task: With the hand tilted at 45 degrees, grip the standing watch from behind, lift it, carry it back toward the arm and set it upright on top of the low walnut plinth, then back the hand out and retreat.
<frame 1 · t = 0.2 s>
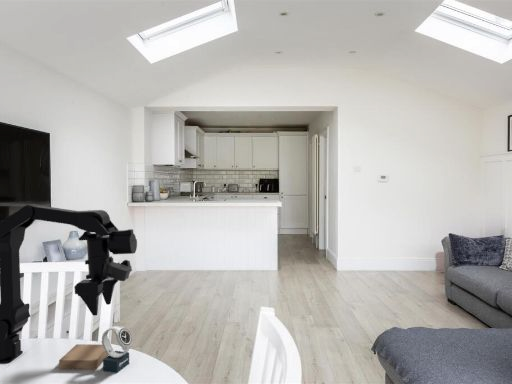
hand: (102, 309, 111), 14 cm above the table, tool pointing down, fingers open, 9 cm apart
watch: (116, 367, 107), on the table
plinth: (86, 360, 111), on the table
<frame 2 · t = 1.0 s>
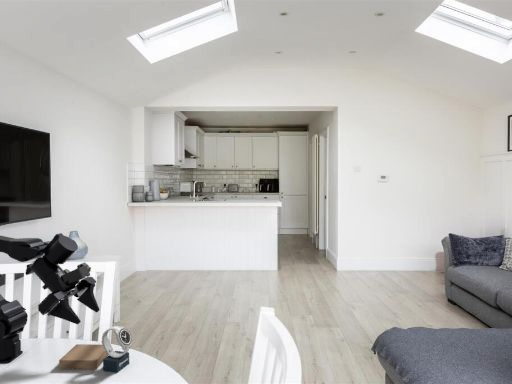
hand: (89, 316, 108), 13 cm above the table, tool tilted 45°, fingers open, 9 cm apart
nothing on the table moved.
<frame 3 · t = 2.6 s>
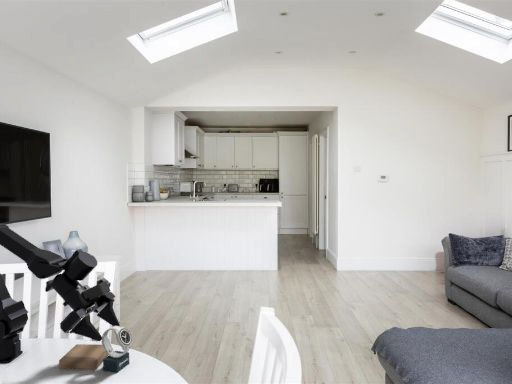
hand: (110, 333, 107), 9 cm above the table, tool tilted 45°, fingers open, 9 cm apart
nothing on the table moved.
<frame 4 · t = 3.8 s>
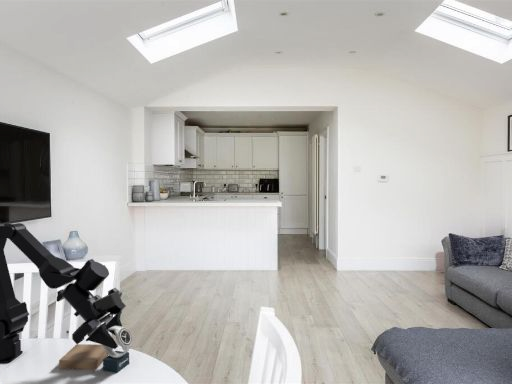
hand: (121, 343, 107), 7 cm above the table, tool tilted 45°, fingers closed on watch, 5 cm apart
watch: (116, 367, 107), on the table, touching gripper
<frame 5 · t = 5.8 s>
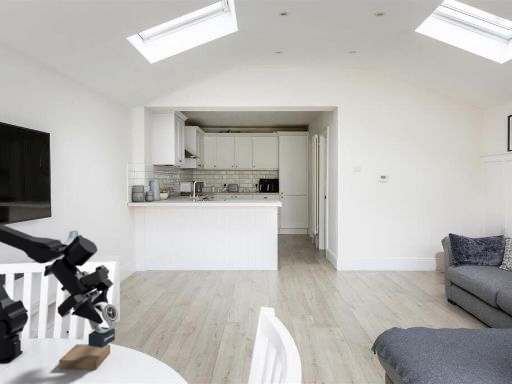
hand: (106, 319, 108), 13 cm above the table, tool tilted 45°, fingers closed on watch, 5 cm apart
watch: (102, 343, 108), point 6 cm above the table, touching gripper
when the fingers open (10 cm above the table, at t = 7.6 s): watch drops 1 cm, resting on plinth.
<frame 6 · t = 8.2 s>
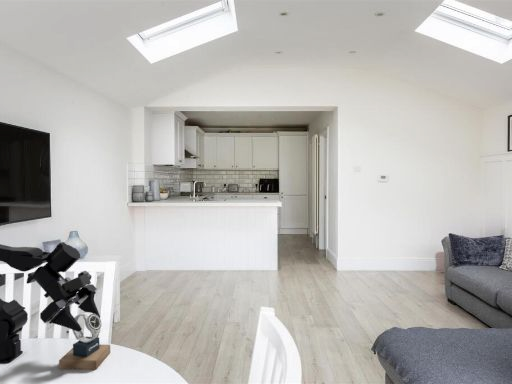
hand: (90, 324, 110), 11 cm above the table, tool tilted 45°, fingers open, 9 cm apart
watch: (87, 352, 111), point 2 cm above the table, touching plinth
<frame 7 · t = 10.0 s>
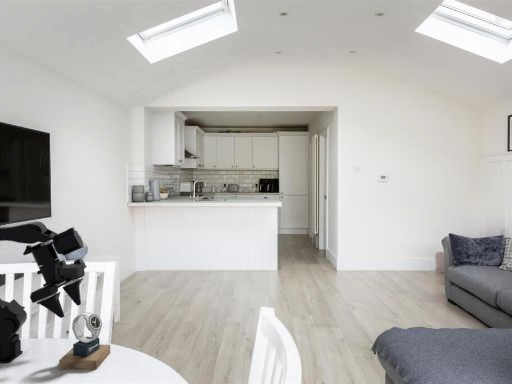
hand: (71, 310, 115), 13 cm above the table, tool tilted 25°, fingers open, 9 cm apart
nothing on the table moved.
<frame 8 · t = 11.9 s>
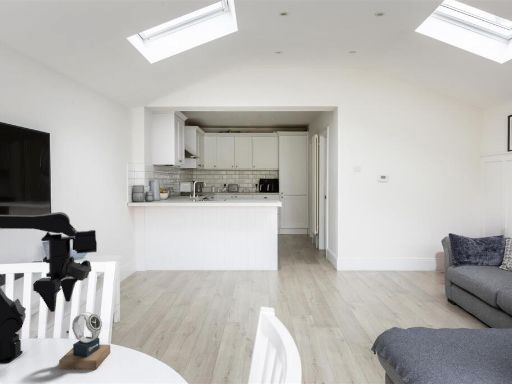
hand: (60, 306, 118), 13 cm above the table, tool pointing down, fingers open, 9 cm apart
nothing on the table moved.
at the end: watch inside the target area on the plinth (0.3 cm from its centre), point 2.3 cm above the plinth's base; watch tilted 0°; the gripper is holding nothing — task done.
